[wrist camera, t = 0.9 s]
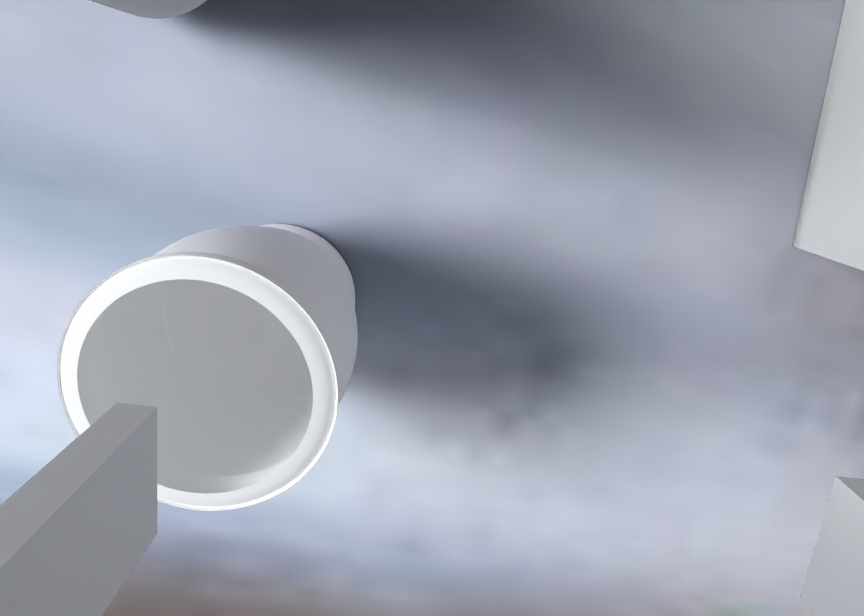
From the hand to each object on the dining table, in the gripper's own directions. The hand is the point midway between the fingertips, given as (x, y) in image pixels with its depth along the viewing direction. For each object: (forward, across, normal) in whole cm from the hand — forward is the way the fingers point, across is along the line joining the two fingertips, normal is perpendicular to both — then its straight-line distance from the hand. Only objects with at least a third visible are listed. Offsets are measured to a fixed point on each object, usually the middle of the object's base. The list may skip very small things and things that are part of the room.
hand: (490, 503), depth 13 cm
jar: (+27, -10, -4) cm, 29 cm away
